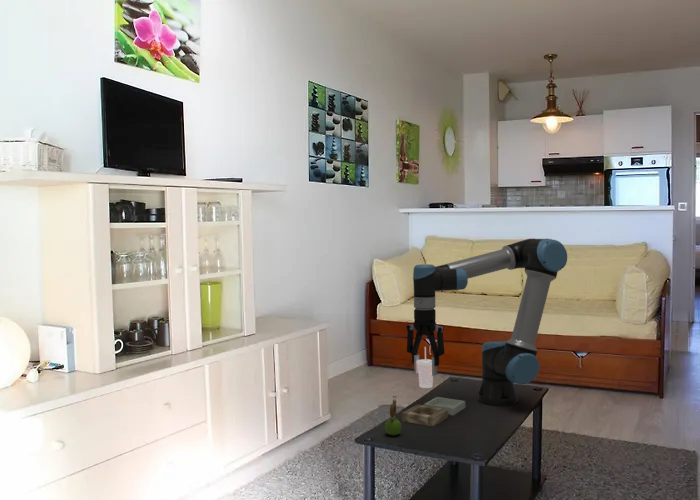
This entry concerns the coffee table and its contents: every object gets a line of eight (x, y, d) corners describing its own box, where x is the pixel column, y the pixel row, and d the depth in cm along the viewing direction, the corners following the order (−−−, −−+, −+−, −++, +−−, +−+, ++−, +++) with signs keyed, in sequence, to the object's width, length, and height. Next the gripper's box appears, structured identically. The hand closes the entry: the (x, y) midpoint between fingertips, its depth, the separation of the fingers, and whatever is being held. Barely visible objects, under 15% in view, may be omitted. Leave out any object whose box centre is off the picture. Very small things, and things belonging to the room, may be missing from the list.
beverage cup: (414, 385, 226) (413, 346, 226) (429, 383, 229) (428, 344, 228) (422, 389, 221) (421, 349, 220) (437, 387, 223) (437, 347, 222)
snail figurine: (403, 431, 212) (402, 396, 211) (400, 438, 205) (400, 401, 205) (386, 430, 213) (386, 395, 212) (383, 437, 207) (383, 400, 206)
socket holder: (447, 417, 227) (447, 409, 227) (433, 426, 217) (433, 417, 217) (417, 412, 233) (417, 404, 233) (402, 421, 223) (402, 412, 223)
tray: (465, 407, 239) (465, 400, 239) (453, 415, 229) (453, 408, 229) (436, 403, 245) (436, 396, 245) (423, 410, 235) (423, 404, 235)
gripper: (395, 308, 225) (396, 373, 226) (445, 311, 215) (446, 379, 216) (405, 305, 232) (406, 369, 233) (454, 308, 222) (455, 374, 223)
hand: (425, 373), depth 224 cm, fingers closed on beverage cup, 6 cm apart
